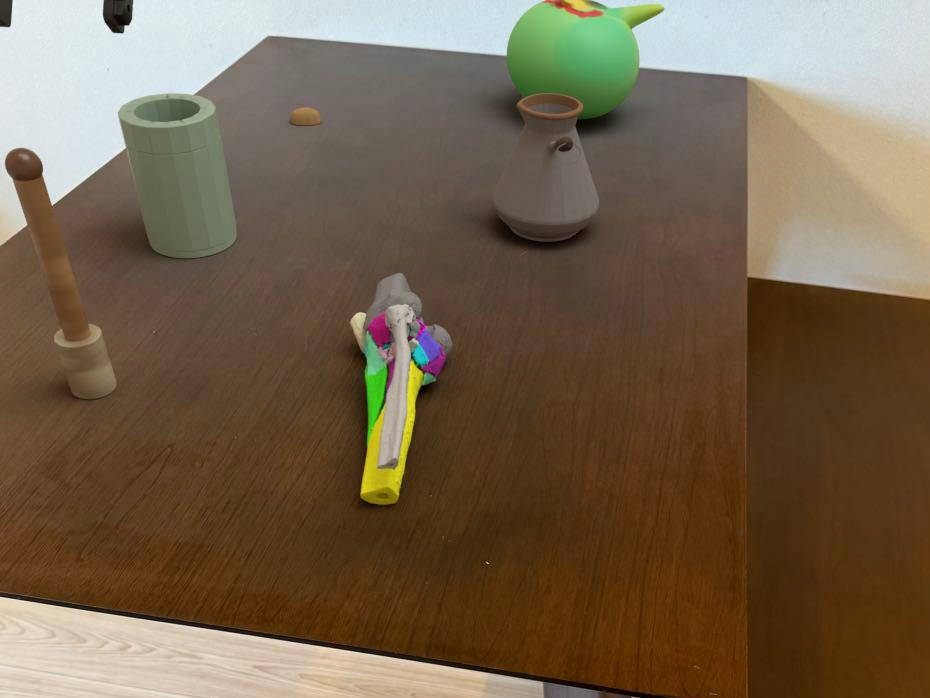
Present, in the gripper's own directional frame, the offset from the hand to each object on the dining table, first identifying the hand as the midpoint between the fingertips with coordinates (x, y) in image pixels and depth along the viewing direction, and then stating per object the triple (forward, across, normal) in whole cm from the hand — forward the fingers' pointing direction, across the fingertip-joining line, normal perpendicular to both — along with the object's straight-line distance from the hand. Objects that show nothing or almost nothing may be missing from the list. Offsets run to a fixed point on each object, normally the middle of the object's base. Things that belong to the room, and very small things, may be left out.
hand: (56, 24), depth 71 cm
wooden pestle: (+25, 0, +10) cm, 27 cm away
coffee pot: (+4, +38, +31) cm, 49 cm away
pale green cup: (+6, +1, +29) cm, 30 cm away
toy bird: (-23, +40, +59) cm, 75 cm away
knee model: (+26, +25, +10) cm, 37 cm away
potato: (-18, +6, +53) cm, 56 cm away
